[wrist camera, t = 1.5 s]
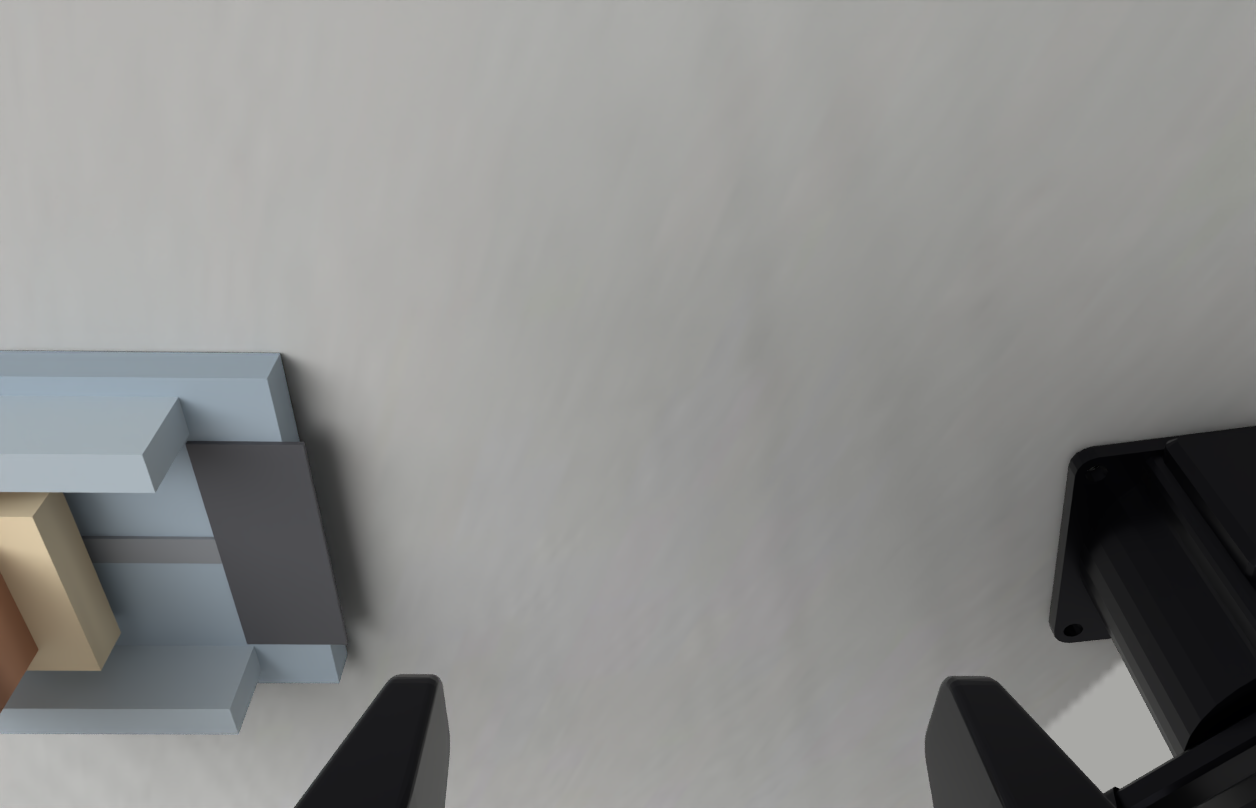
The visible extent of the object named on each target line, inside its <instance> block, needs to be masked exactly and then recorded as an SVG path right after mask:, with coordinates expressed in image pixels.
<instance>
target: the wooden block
mask: <svg viewBox="0 0 1256 808" xmlns="http://www.w3.org/2000/svg"><path fill="white" fill-rule="evenodd" d="M120 634H121V631H120V629H119V626H118V624H117V622H116V619H115V617H114V614H113V612H112V610H111V607H110V605H109V602H108V600H107V598H106V595H105V593H104V590H103V588H102V585H101V583H100V581H99V578H98V576H97V573H96V571H95V569H94V566H93V564H92V561H91V559H90V557H89V554H88V552H87V549H86V547H85V544H84V542H83V540H82V537H81V535H80V532H79V530H78V528H77V525H76V523H75V520H74V518H73V516H72V513H71V511H70V508H69V506H68V504H67V501H66V499H65V496H64V494H63V492H0V713H1V712H2V710H3V708H4V707H5V705H6V703H7V702H8V700H9V698H10V697H11V695H12V693H13V692H14V690H15V688H16V687H17V685H18V683H19V682H20V680H21V679H22V677H23V675H24V674H25V672H26V671H101V670H102V668H103V666H104V664H105V662H106V660H107V658H108V657H109V655H110V653H111V651H112V649H113V647H114V645H115V643H116V641H117V640H118V638H119V636H120Z"/></svg>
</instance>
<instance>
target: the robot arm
mask: <svg viewBox="0 0 1256 808" xmlns="http://www.w3.org/2000/svg"><path fill="white" fill-rule="evenodd" d="M1097 465H1099V466H1098V467H1097V468H1096V469H1095V470H1091V471H1088V470H1089V469H1090V468H1092V467H1094V466H1097ZM1049 625H1050V627H1051V630H1052V632H1053V634H1054V636H1055V638H1056V639H1057V640H1058V641H1061V642H1065V643H1073V642H1082V641H1091V640H1100V639H1109V638H1112V640H1113V642H1114V644H1115V646H1116V648H1117V650H1118V652H1119V653H1120V655H1121V657H1122V659H1123V661H1124V663H1125V665H1126V667H1127V668H1128V671H1129V673H1130V674H1131V676H1132V678H1133V680H1134V682H1135V684H1136V686H1137V688H1138V690H1139V692H1140V694H1141V696H1142V697H1143V699H1144V701H1145V703H1146V705H1147V707H1148V709H1149V711H1150V713H1151V714H1152V717H1153V718H1154V720H1155V722H1156V724H1157V726H1158V728H1159V730H1160V732H1161V734H1162V736H1163V737H1164V740H1165V741H1166V743H1167V745H1168V747H1169V749H1170V751H1171V753H1172V755H1173V757H1174V758H1172V759H1171V760H1169V761H1167V762H1165V763H1164V764H1162V765H1160V766H1159V767H1157V768H1155V769H1153V770H1152V771H1150V772H1149V773H1147V774H1145V775H1143V776H1142V777H1140V778H1138V779H1136V780H1135V781H1133V782H1131V783H1130V784H1128V785H1126V786H1125V787H1123V788H1121V789H1119V788H1117V787H1114V788H1112V789H1110V790H1109V791H1107V792H1106V793H1102V792H1101V791H1100V790H1099V789H1098V788H1097V787H1096V786H1095V784H1094V783H1093V782H1092V781H1091V780H1090V779H1089V778H1088V777H1087V776H1086V775H1085V774H1084V773H1083V772H1082V771H1081V770H1080V768H1079V767H1078V766H1077V765H1076V764H1075V763H1074V762H1073V761H1072V760H1071V759H1070V758H1069V757H1068V756H1067V755H1066V754H1065V753H1064V752H1063V750H1062V749H1061V748H1060V747H1059V746H1058V745H1057V744H1056V743H1055V742H1054V741H1053V740H1052V739H1051V738H1050V737H1049V735H1048V734H1047V733H1046V732H1045V731H1044V730H1043V729H1042V728H1041V727H1040V726H1039V725H1038V724H1037V723H1036V722H1035V721H1034V720H1033V718H1032V717H1031V716H1030V715H1029V714H1028V713H1027V712H1026V711H1025V710H1024V709H1023V708H1022V707H1021V706H1020V705H1019V704H1018V703H1017V701H1016V700H1015V699H1014V698H1013V697H1012V696H1011V695H1010V694H1009V693H1008V692H1007V691H1006V690H1005V689H1004V688H1003V687H1002V686H1001V685H1000V684H999V683H998V682H997V681H995V680H994V679H992V678H990V677H985V676H951V677H948V678H946V679H945V680H944V681H943V682H942V684H941V686H940V689H939V692H938V695H937V699H936V702H935V705H934V708H933V712H932V715H931V718H930V721H929V725H928V728H927V731H926V736H925V758H926V765H927V770H928V776H929V782H930V788H931V794H932V800H933V806H934V808H1256V426H1253V427H1245V428H1237V429H1229V430H1221V431H1213V432H1205V433H1197V434H1189V435H1181V436H1174V437H1166V438H1158V439H1150V440H1142V441H1134V442H1126V443H1118V444H1110V445H1102V446H1094V447H1090V448H1086V449H1083V450H1081V451H1080V452H1078V453H1076V454H1075V456H1074V457H1073V458H1072V459H1071V461H1070V463H1069V467H1068V474H1067V482H1066V490H1065V498H1064V506H1063V514H1062V522H1061V529H1060V537H1059V545H1058V553H1057V561H1056V569H1055V577H1054V584H1053V592H1052V600H1051V608H1050V616H1049ZM449 755H450V734H449V726H448V719H447V712H446V705H445V698H444V691H443V685H442V682H441V680H440V678H439V677H438V676H436V675H433V674H399V675H396V676H394V677H392V678H391V679H390V680H389V681H388V682H387V683H386V684H385V686H384V687H383V688H382V690H381V691H380V692H379V694H378V695H377V696H376V698H375V699H374V700H373V702H372V703H371V704H370V706H369V707H368V708H367V710H366V711H365V713H364V714H363V715H362V717H361V718H360V719H359V721H358V722H357V723H356V725H355V726H354V727H353V729H352V730H351V731H350V733H349V734H348V735H347V737H346V738H345V740H344V741H343V742H342V744H341V745H340V746H339V748H338V749H337V750H336V752H335V753H334V754H333V756H332V757H331V758H330V760H329V761H328V763H327V764H326V765H325V767H324V768H323V769H322V771H321V772H320V773H319V775H318V776H317V777H316V779H315V780H314V781H313V783H312V784H311V785H310V787H309V788H308V790H307V791H306V792H305V794H304V795H303V796H302V798H301V799H300V800H299V802H298V803H297V804H296V806H295V807H294V808H445V798H446V787H447V777H448V767H449Z"/></svg>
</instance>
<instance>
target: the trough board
mask: <svg viewBox="0 0 1256 808" xmlns="http://www.w3.org/2000/svg"><path fill="white" fill-rule="evenodd" d="M0 492H63V494H64V496H65V499H66V501H67V504H68V506H69V508H70V511H71V513H72V516H73V518H74V520H75V523H76V525H77V528H78V530H79V532H80V535H81V537H82V540H83V542H84V544H85V547H86V549H87V552H88V554H89V557H90V559H91V561H92V564H93V566H94V569H95V571H96V573H97V576H98V578H99V581H100V583H101V585H102V588H103V590H104V593H105V595H106V598H107V600H108V602H109V605H110V607H111V610H112V612H113V614H114V617H115V619H116V622H117V624H118V626H119V629H120V631H121V634H120V636H119V638H118V640H117V641H116V643H115V645H114V647H113V649H112V651H111V653H110V655H109V657H108V658H107V660H106V662H105V664H104V666H103V668H102V670H101V671H26V672H25V674H24V675H23V677H22V679H21V680H20V682H19V683H18V685H17V687H16V688H15V690H14V692H13V693H12V695H11V697H10V698H9V700H8V702H7V703H6V705H5V707H4V708H3V710H2V712H1V713H0V734H239V731H240V729H241V726H242V723H243V720H244V718H245V715H246V712H247V709H248V707H249V704H250V701H251V698H252V696H253V693H254V690H255V687H256V685H257V683H339V682H340V679H341V675H342V672H343V668H344V665H345V661H346V657H347V650H346V646H345V645H347V644H348V637H347V632H346V628H345V623H344V619H343V614H342V610H341V605H340V601H339V596H338V592H337V587H336V583H335V578H334V573H333V569H332V564H331V560H330V555H329V551H328V546H327V542H326V537H325V533H324V528H323V523H322V519H321V514H320V510H319V505H318V501H317V496H316V492H315V487H314V483H313V478H312V474H311V469H310V464H309V460H308V455H307V451H306V446H305V442H300V440H299V436H298V431H297V427H296V422H295V418H294V413H293V409H292V404H291V400H290V395H289V391H288V387H287V382H286V378H285V373H284V369H283V364H282V360H281V355H280V353H201V352H85V351H0Z"/></svg>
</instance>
